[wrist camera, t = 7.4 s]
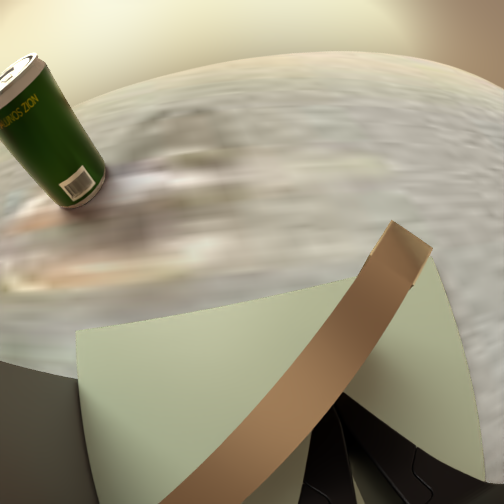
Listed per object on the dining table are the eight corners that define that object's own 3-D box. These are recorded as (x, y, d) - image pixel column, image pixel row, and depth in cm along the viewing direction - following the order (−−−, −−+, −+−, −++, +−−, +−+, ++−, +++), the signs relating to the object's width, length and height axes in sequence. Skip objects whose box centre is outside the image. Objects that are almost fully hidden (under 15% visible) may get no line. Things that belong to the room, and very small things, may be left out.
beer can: (120, 174, 22) (49, 51, 12) (73, 222, 21) (-22, 114, 10) (90, 152, 24) (28, 50, 14) (49, 194, 23) (-28, 100, 12)
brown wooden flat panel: (140, 552, 10) (50, 617, 2) (123, 537, 10) (24, 593, 2) (357, 328, 15) (433, 248, 7) (337, 313, 15) (391, 219, 7)
